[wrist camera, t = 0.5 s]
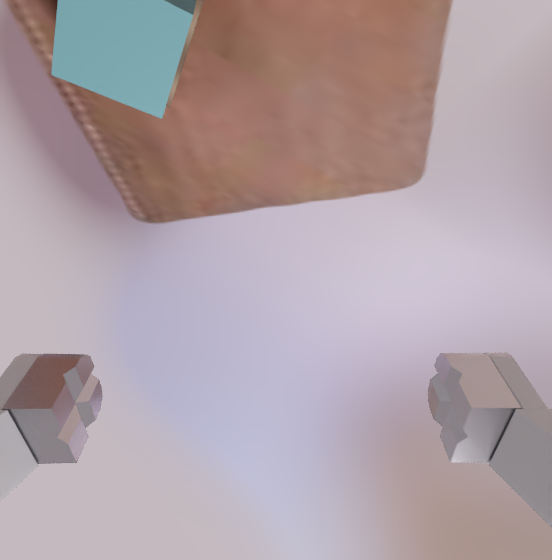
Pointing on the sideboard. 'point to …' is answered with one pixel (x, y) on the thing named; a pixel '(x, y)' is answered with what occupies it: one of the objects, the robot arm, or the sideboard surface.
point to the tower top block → (122, 48)
